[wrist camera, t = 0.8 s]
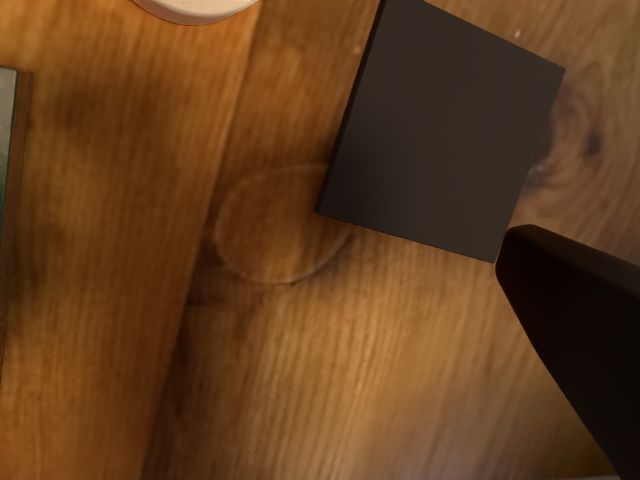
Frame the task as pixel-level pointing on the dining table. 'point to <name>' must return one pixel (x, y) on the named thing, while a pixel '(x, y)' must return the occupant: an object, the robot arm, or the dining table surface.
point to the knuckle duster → (194, 10)
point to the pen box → (11, 174)
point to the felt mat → (438, 131)
